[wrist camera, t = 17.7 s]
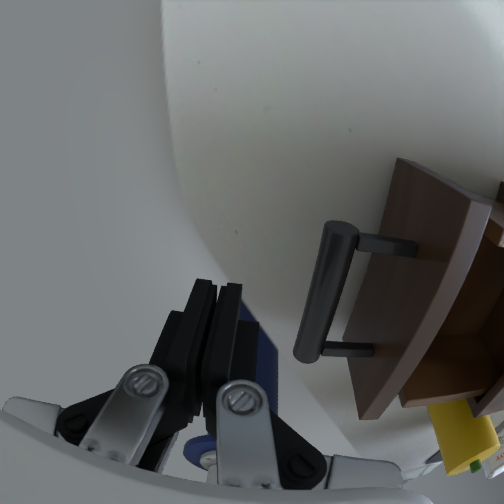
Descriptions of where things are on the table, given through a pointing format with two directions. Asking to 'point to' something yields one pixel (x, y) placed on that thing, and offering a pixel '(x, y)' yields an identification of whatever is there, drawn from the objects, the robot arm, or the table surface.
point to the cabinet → (500, 394)
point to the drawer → (415, 296)
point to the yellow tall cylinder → (462, 436)
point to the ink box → (499, 459)
